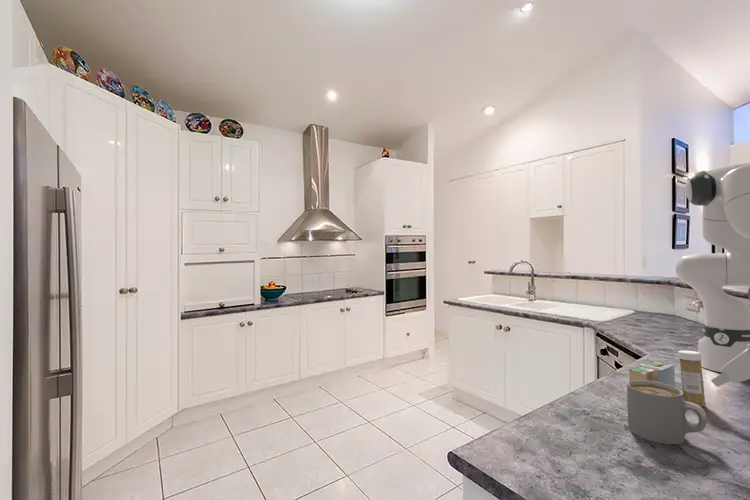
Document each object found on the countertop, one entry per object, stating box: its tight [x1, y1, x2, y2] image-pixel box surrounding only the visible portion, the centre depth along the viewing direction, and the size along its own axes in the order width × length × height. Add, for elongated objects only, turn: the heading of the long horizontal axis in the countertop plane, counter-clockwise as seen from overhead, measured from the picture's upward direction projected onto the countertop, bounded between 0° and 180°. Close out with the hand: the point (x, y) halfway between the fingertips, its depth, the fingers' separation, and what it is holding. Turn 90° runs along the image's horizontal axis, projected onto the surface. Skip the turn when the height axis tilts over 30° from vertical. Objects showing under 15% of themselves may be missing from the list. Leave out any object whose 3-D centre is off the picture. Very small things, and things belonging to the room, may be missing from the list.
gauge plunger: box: [639, 363, 676, 387], centre depth 100 cm, size 9×5×8 cm, turn 121°
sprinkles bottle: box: [677, 350, 706, 408], centre depth 94 cm, size 5×5×14 cm
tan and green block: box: [628, 360, 667, 381], centre depth 102 cm, size 14×4×7 cm, turn 121°
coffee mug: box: [626, 380, 708, 445], centre depth 79 cm, size 13×10×10 cm
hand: (721, 379), depth 89 cm, fingers open, 8 cm apart
